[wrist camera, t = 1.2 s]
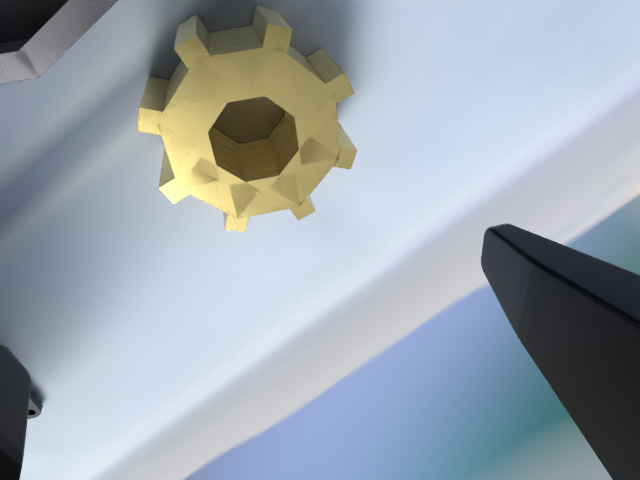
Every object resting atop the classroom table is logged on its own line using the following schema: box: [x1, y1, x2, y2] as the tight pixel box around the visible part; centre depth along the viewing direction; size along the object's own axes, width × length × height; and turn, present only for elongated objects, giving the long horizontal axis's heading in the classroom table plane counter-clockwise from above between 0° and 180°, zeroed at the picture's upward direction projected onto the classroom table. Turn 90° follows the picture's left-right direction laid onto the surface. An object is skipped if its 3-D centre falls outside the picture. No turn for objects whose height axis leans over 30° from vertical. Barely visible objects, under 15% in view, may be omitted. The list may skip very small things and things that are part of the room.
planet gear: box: [138, 5, 357, 232], centre depth 17 cm, size 7×7×4 cm
